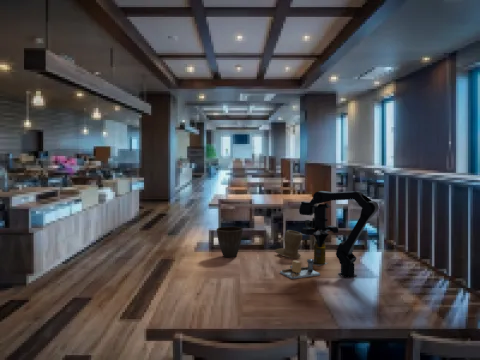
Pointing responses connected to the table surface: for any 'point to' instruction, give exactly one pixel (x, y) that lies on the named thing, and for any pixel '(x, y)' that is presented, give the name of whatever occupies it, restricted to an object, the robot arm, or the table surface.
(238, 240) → the plant pot
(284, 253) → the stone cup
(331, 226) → the robot arm
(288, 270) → the plate
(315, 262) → the condiment
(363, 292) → the table surface
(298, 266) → the leg
